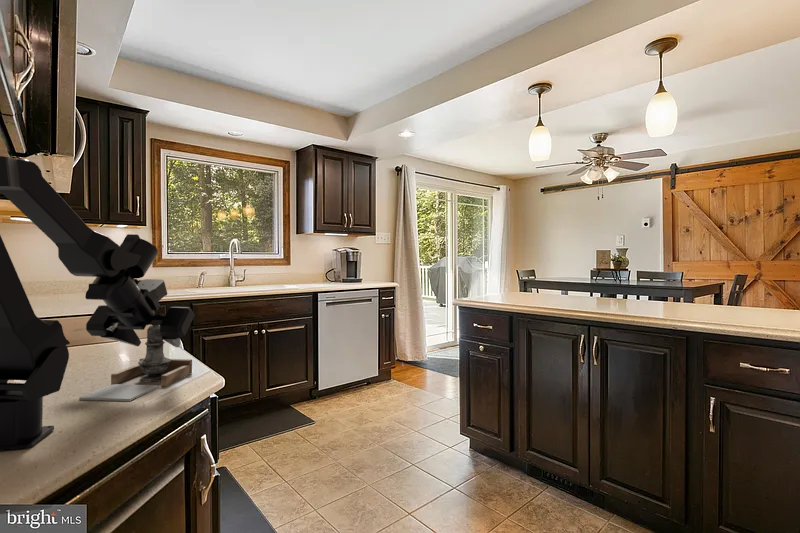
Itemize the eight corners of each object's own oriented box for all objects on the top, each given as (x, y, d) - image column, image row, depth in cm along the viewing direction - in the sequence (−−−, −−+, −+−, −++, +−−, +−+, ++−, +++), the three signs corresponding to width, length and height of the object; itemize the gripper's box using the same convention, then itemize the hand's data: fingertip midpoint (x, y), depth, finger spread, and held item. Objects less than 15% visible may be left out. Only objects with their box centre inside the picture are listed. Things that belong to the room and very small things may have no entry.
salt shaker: (155, 383, 83) (156, 323, 82) (130, 381, 84) (131, 321, 84) (177, 375, 88) (177, 319, 88) (153, 373, 90) (154, 318, 89)
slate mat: (130, 401, 72) (130, 398, 72) (79, 399, 72) (79, 397, 72) (158, 387, 80) (158, 385, 80) (112, 386, 80) (112, 384, 80)
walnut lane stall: (166, 386, 81) (166, 370, 81) (111, 384, 81) (111, 369, 81) (191, 373, 90) (192, 359, 90) (142, 371, 91) (142, 358, 91)
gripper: (190, 266, 82) (215, 315, 93) (97, 264, 82) (133, 313, 93) (166, 311, 74) (197, 358, 85) (63, 309, 74) (107, 356, 85)
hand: (158, 344), depth 87 cm, fingers open, 8 cm apart
